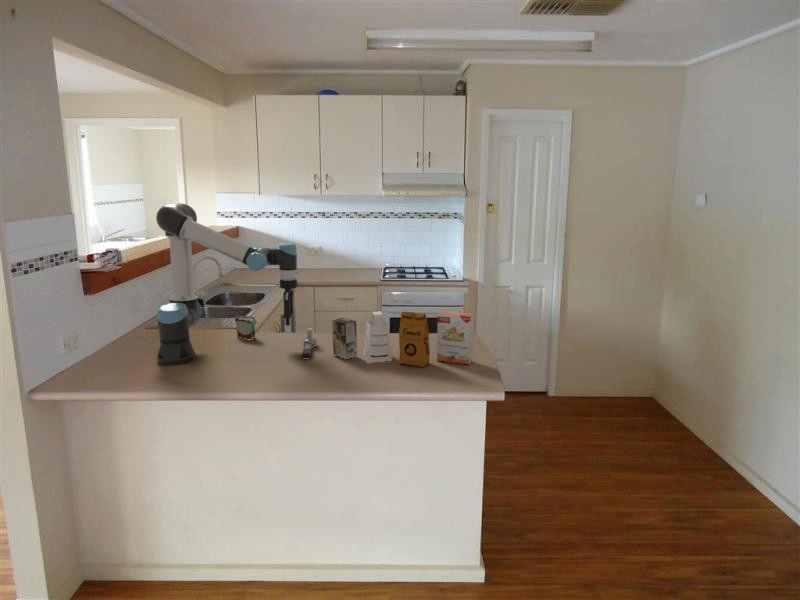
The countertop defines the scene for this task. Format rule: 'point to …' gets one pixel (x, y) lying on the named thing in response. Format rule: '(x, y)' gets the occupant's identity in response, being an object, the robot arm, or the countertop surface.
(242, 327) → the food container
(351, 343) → the coffee box
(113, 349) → the countertop surface
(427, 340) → the coffee package
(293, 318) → the red-striped grey cube
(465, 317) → the cracker box
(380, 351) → the grater
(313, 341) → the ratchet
